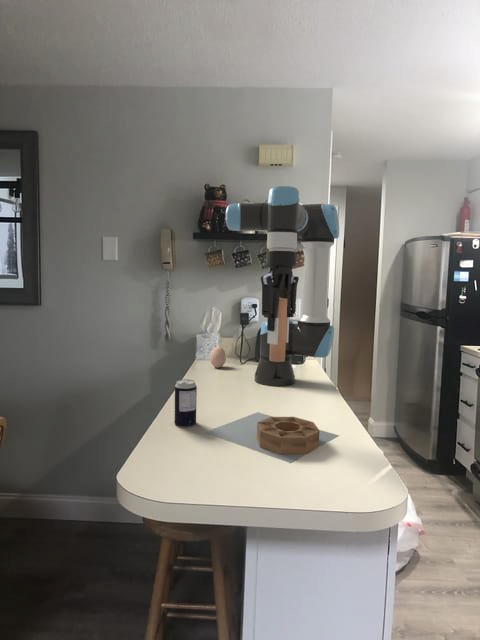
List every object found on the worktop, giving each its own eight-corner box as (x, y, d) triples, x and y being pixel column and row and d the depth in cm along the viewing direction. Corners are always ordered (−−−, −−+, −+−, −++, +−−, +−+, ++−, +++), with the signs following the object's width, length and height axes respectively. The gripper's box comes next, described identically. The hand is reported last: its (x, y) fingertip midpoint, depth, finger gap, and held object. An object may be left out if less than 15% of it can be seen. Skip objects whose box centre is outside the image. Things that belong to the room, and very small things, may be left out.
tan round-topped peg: (275, 358, 118) (277, 297, 116) (287, 360, 115) (290, 298, 114) (266, 360, 115) (268, 298, 113) (278, 362, 112) (281, 299, 110)
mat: (257, 414, 129) (257, 412, 129) (338, 437, 113) (339, 435, 113) (204, 434, 113) (204, 432, 112) (290, 465, 96) (290, 463, 96)
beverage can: (199, 423, 120) (200, 380, 119) (190, 430, 115) (191, 385, 113) (180, 421, 122) (180, 378, 121) (170, 427, 117) (171, 382, 115)
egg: (227, 366, 190) (227, 345, 189) (223, 369, 184) (223, 348, 183) (212, 365, 192) (213, 344, 191) (207, 368, 185) (208, 347, 184)
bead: (279, 427, 117) (280, 412, 117) (327, 442, 108) (328, 426, 108) (246, 442, 106) (246, 426, 106) (295, 460, 97) (296, 442, 97)
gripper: (288, 252, 121) (284, 338, 123) (248, 248, 108) (245, 344, 110) (312, 252, 116) (308, 341, 118) (273, 248, 103) (269, 348, 106)
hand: (277, 342), depth 114 cm, fingers closed on tan round-topped peg, 4 cm apart
